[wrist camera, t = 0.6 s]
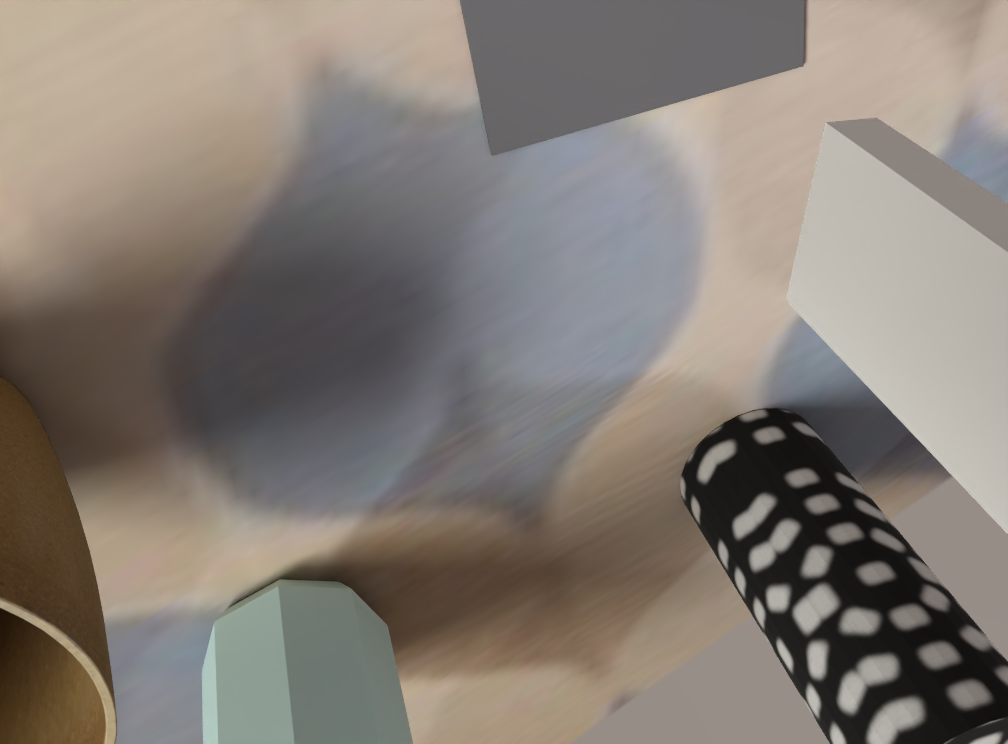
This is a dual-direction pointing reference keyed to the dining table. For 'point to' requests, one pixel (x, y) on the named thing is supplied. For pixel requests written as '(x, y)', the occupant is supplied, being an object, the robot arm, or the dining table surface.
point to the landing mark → (616, 58)
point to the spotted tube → (842, 591)
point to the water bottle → (302, 670)
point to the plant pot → (46, 597)
